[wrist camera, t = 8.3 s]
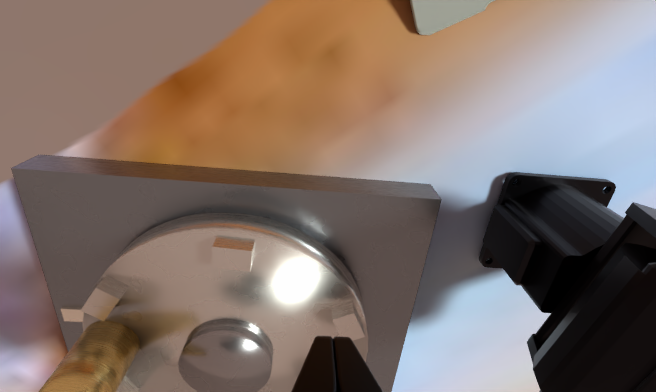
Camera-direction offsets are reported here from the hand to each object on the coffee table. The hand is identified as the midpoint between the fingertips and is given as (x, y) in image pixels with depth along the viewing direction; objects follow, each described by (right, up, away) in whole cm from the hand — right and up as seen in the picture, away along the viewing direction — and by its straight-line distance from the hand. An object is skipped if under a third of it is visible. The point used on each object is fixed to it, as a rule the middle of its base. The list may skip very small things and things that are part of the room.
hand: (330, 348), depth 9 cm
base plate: (-6, -3, +16) cm, 17 cm away
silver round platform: (-6, -4, +14) cm, 16 cm away
